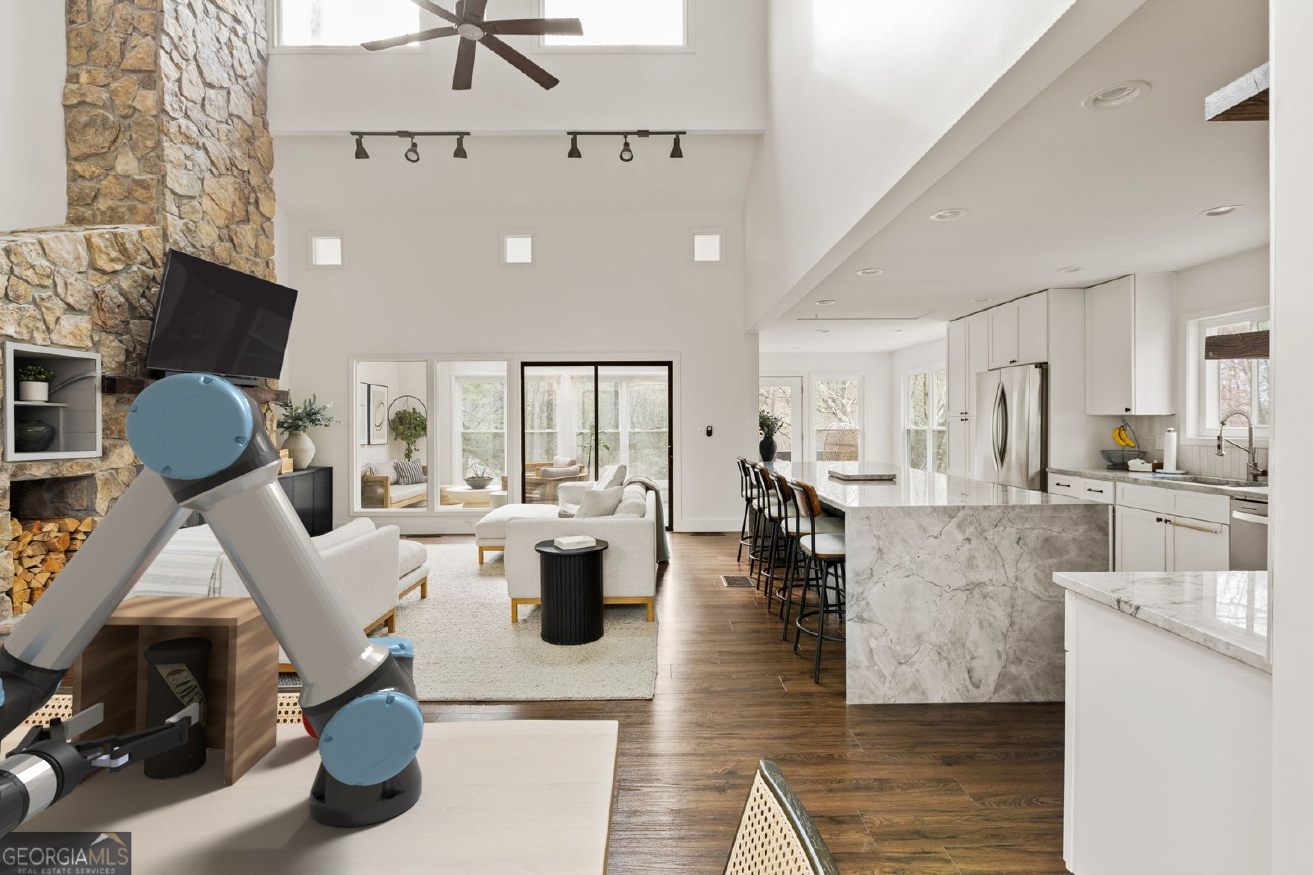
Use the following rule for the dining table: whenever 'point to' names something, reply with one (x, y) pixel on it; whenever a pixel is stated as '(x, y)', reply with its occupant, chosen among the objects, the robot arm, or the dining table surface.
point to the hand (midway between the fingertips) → (148, 711)
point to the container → (177, 702)
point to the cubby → (233, 682)
